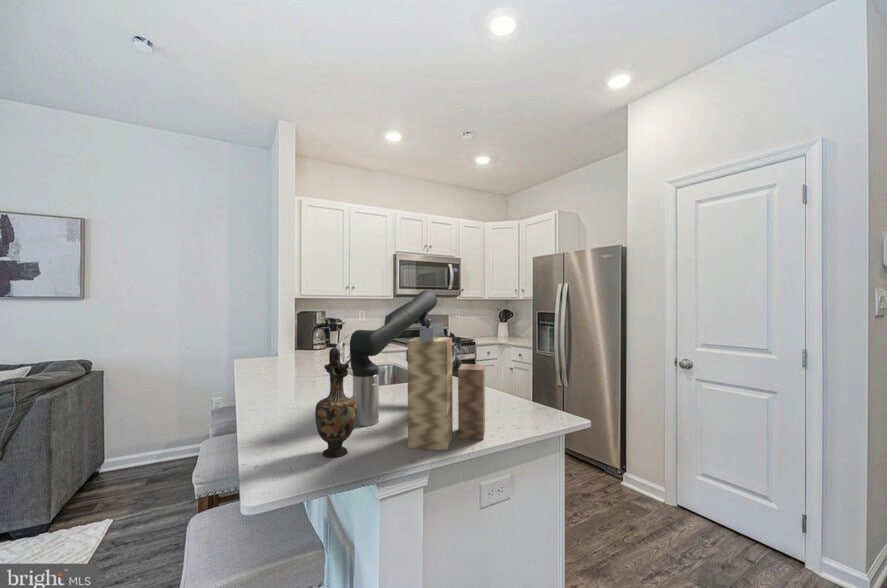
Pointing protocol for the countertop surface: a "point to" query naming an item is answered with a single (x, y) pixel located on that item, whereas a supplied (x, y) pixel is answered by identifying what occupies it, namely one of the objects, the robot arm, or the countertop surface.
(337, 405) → the vase
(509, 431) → the countertop surface
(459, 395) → the walnut block
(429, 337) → the tin
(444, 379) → the oak block
